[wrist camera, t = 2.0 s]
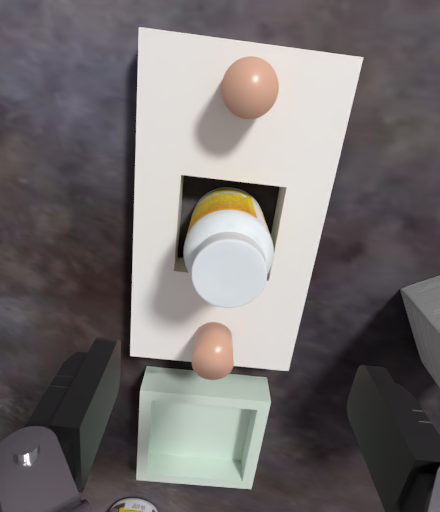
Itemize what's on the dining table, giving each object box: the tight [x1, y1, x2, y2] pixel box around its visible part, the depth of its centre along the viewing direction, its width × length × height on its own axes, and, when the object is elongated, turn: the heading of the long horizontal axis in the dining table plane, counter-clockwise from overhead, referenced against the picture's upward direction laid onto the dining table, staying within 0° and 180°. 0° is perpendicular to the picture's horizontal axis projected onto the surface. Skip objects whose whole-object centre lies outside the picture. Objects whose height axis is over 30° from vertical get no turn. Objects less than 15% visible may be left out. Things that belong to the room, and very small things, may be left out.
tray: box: [136, 366, 271, 489], centre depth 34 cm, size 11×11×3 cm
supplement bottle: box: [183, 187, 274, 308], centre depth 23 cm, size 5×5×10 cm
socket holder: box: [130, 27, 363, 380], centre depth 25 cm, size 13×23×6 cm, turn 173°
